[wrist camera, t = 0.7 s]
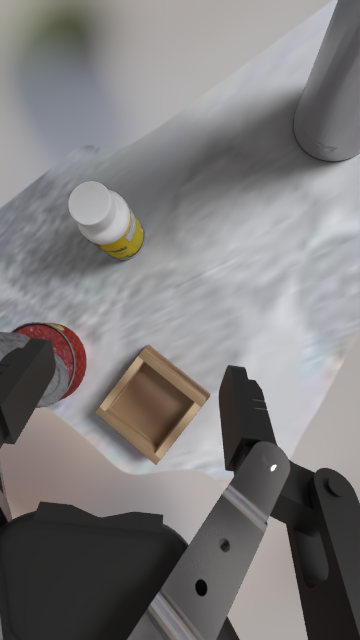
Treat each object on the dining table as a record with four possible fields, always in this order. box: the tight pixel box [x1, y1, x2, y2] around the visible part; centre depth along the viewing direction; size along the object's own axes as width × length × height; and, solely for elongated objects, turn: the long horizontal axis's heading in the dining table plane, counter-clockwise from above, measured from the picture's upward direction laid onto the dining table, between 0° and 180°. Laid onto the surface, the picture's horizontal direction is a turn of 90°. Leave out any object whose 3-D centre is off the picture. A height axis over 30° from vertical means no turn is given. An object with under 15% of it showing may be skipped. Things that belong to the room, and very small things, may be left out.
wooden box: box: [95, 345, 210, 465], centre depth 30 cm, size 9×9×3 cm
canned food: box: [0, 322, 86, 408], centre depth 31 cm, size 11×10×10 cm
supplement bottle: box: [68, 181, 145, 260], centre depth 28 cm, size 5×5×10 cm
